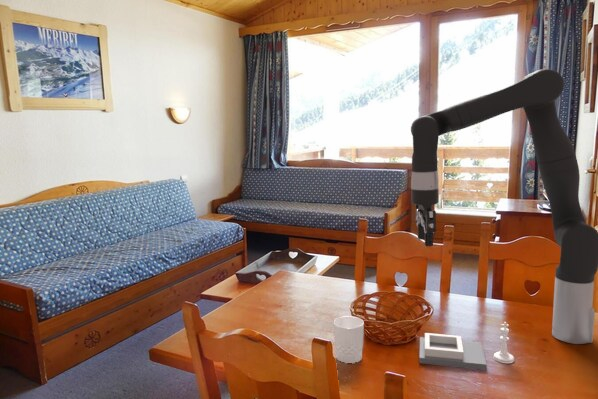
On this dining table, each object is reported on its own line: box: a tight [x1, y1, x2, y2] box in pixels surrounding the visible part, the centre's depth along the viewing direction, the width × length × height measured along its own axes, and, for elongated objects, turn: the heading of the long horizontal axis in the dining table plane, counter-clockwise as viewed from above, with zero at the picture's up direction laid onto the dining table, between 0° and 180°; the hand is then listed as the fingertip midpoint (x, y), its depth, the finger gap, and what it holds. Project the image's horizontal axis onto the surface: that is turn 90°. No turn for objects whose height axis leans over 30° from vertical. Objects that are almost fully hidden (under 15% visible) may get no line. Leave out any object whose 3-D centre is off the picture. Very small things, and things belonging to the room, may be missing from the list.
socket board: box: [418, 332, 487, 371], centre depth 120 cm, size 16×12×4 cm
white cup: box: [333, 315, 365, 364], centre depth 120 cm, size 8×8×10 cm
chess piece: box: [492, 321, 515, 364], centre depth 117 cm, size 5×5×10 cm
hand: (425, 242), depth 132 cm, fingers open, 8 cm apart
